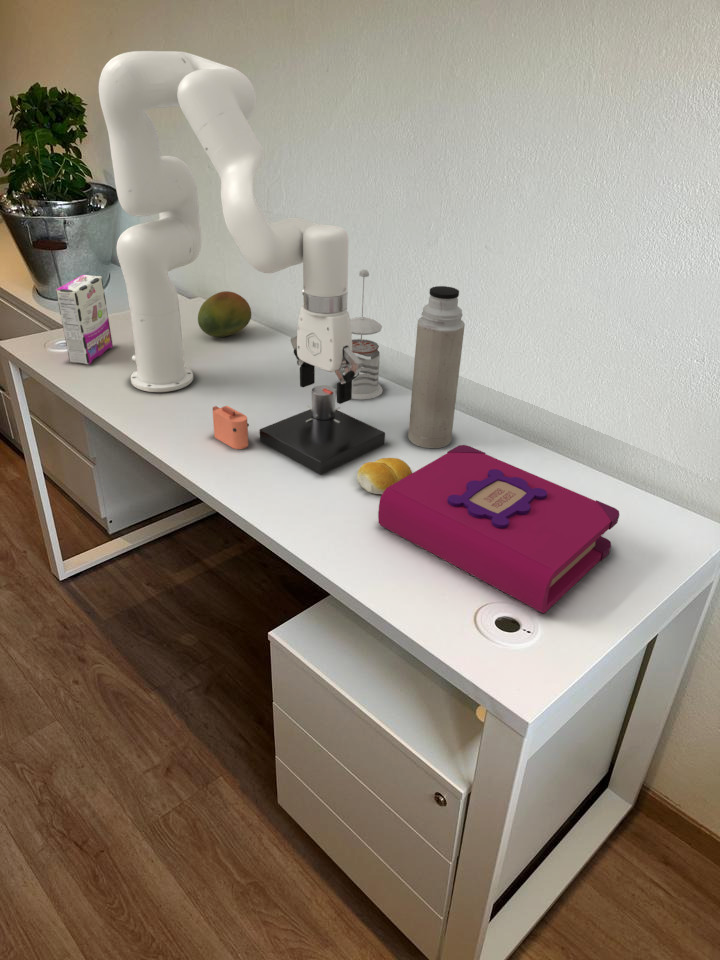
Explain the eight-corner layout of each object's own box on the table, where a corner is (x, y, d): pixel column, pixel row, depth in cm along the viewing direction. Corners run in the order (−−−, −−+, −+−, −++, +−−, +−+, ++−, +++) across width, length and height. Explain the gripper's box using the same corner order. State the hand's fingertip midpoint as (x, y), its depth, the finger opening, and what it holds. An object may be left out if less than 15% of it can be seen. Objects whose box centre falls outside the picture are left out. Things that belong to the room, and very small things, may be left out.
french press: (391, 395, 152) (399, 274, 139) (340, 404, 148) (343, 280, 135) (369, 377, 160) (375, 260, 147) (320, 385, 155) (321, 265, 142)
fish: (208, 434, 135) (206, 404, 132) (223, 428, 137) (221, 398, 134) (237, 451, 130) (235, 420, 127) (252, 445, 132) (251, 414, 129)
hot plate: (256, 439, 134) (256, 426, 132) (323, 412, 144) (324, 400, 143) (320, 475, 124) (320, 461, 123) (387, 443, 135) (388, 430, 133)
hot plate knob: (306, 414, 138) (306, 388, 135) (323, 407, 140) (324, 381, 138) (322, 422, 135) (323, 395, 132) (339, 415, 138) (340, 389, 135)
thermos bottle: (417, 424, 141) (430, 279, 127) (456, 434, 139) (474, 286, 124) (401, 442, 135) (413, 291, 121) (442, 452, 132) (459, 299, 118)
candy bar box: (93, 344, 169) (82, 273, 161) (113, 347, 169) (103, 275, 160) (67, 363, 160) (54, 288, 151) (88, 365, 159) (76, 290, 151)
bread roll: (421, 486, 122) (423, 465, 120) (376, 501, 118) (377, 480, 116) (392, 464, 128) (394, 444, 126) (348, 477, 124) (349, 457, 122)
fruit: (257, 330, 182) (256, 290, 177) (235, 347, 171) (233, 305, 166) (215, 323, 185) (212, 284, 179) (190, 340, 174) (186, 298, 169)
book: (539, 619, 95) (550, 573, 91) (376, 530, 111) (379, 487, 107) (612, 550, 109) (624, 507, 105) (458, 479, 124) (463, 439, 121)
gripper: (275, 294, 129) (278, 384, 138) (345, 318, 119) (344, 414, 128) (307, 286, 134) (308, 374, 143) (377, 308, 124) (373, 401, 133)
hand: (325, 393), depth 135 cm, fingers open, 9 cm apart
